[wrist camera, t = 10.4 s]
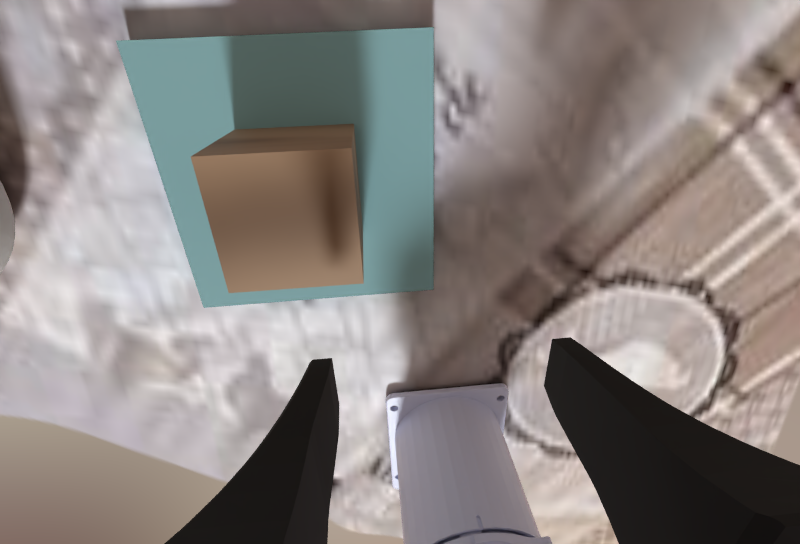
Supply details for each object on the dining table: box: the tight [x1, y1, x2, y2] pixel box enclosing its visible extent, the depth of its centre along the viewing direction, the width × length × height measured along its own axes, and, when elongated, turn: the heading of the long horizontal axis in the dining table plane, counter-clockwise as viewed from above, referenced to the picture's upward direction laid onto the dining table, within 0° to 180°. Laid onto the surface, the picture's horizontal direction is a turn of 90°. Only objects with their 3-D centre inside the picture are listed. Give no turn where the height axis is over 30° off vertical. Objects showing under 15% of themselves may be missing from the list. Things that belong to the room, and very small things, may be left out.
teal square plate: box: [116, 27, 434, 308], centre depth 19 cm, size 12×12×1 cm
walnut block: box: [191, 124, 364, 293], centre depth 16 cm, size 5×5×5 cm
